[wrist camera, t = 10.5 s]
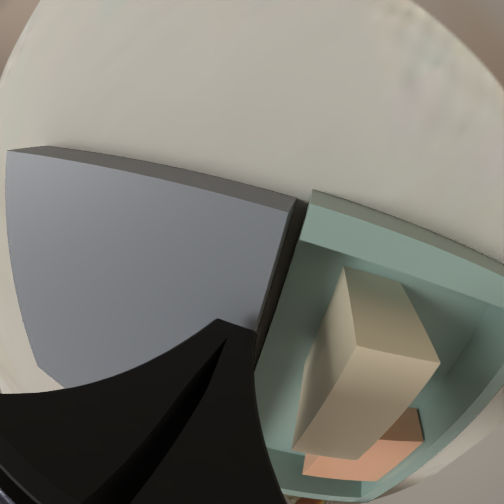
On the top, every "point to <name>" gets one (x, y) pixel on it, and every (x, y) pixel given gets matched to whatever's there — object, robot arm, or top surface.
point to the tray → (427, 308)
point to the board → (132, 256)
